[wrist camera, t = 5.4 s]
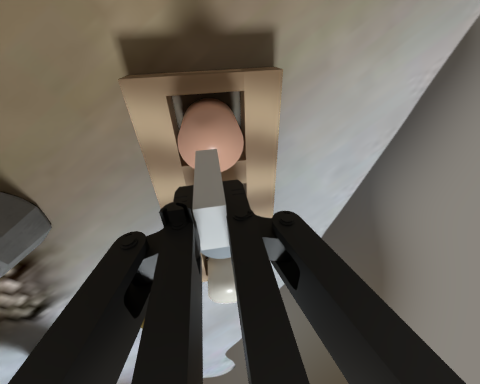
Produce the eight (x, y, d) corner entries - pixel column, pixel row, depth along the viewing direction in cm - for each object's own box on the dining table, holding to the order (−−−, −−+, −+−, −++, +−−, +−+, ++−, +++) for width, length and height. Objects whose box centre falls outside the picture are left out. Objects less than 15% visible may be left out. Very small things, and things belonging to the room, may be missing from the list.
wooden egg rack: (264, 257, 38) (269, 271, 36) (187, 268, 37) (186, 284, 34) (273, 66, 21) (282, 69, 18) (128, 75, 20) (117, 79, 17)
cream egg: (244, 269, 34) (250, 300, 30) (210, 274, 33) (211, 306, 29) (243, 246, 31) (250, 277, 27) (205, 251, 30) (205, 284, 26)
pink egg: (237, 149, 24) (244, 170, 20) (187, 153, 23) (184, 176, 19) (235, 96, 21) (242, 108, 17) (177, 100, 20) (170, 113, 16)
